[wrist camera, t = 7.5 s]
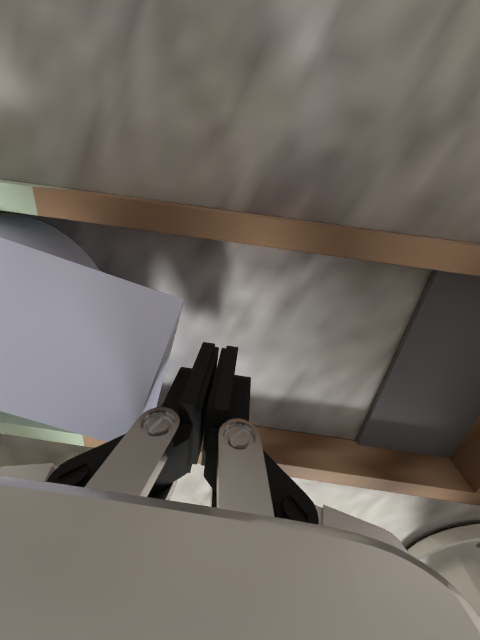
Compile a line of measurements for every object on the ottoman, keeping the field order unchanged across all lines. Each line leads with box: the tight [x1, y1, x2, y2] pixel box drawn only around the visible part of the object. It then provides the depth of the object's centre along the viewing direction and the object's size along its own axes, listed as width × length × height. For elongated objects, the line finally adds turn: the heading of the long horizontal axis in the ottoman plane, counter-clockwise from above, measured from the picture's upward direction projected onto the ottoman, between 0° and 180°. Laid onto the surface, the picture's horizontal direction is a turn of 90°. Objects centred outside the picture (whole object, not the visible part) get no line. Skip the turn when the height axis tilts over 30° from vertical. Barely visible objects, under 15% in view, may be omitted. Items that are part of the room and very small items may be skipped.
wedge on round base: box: [0, 214, 184, 442], centre depth 11 cm, size 9×7×13 cm
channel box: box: [32, 187, 480, 505], centre depth 13 cm, size 24×14×2 cm, turn 83°
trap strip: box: [356, 270, 480, 458], centre depth 14 cm, size 6×12×1 cm, turn 173°
